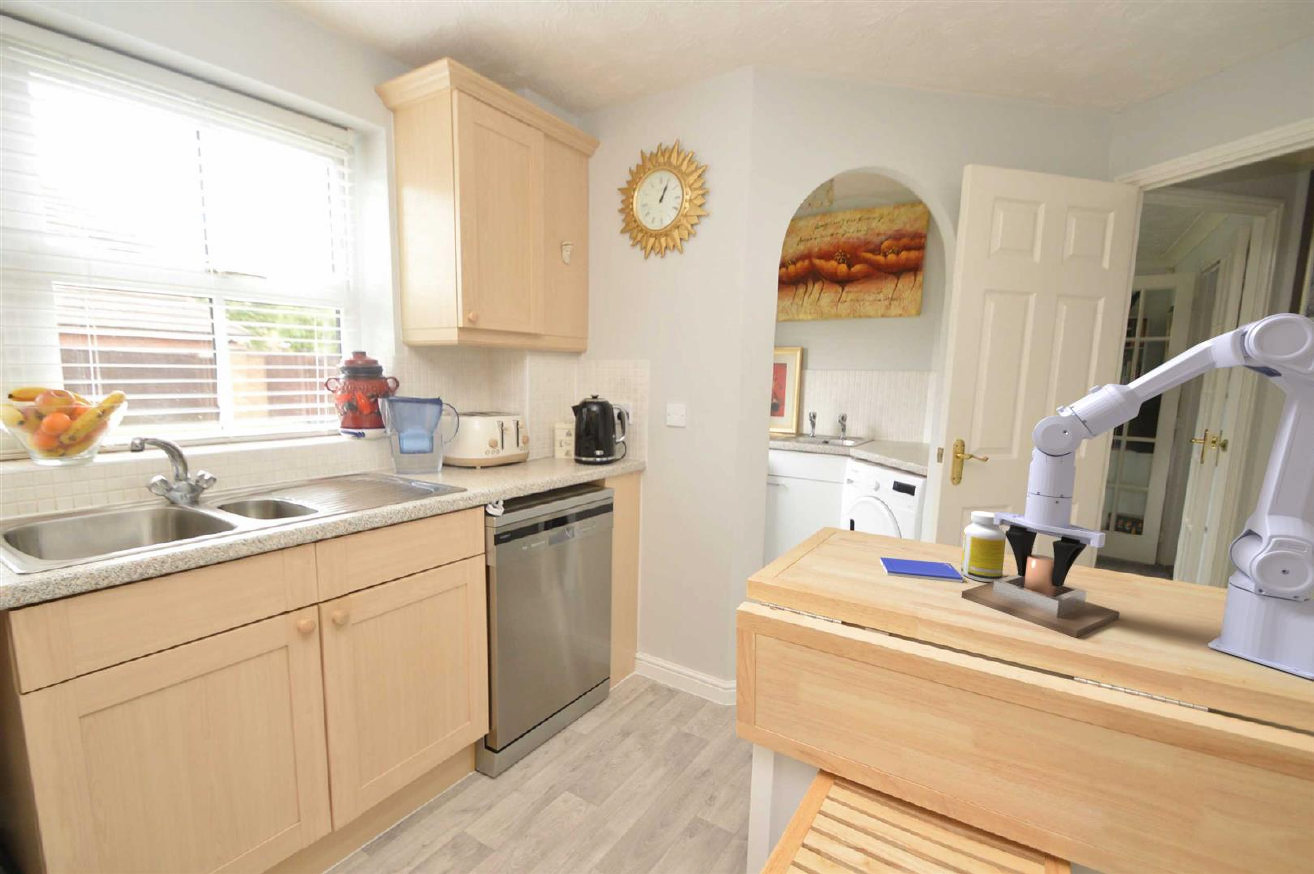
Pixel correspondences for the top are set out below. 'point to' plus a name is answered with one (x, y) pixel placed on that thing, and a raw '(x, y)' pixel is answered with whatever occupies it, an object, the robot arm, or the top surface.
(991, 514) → the pill bottle
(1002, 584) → the steel collar
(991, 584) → the mount board
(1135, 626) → the top surface
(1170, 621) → the top surface
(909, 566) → the hard drive
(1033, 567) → the terracotta peg
